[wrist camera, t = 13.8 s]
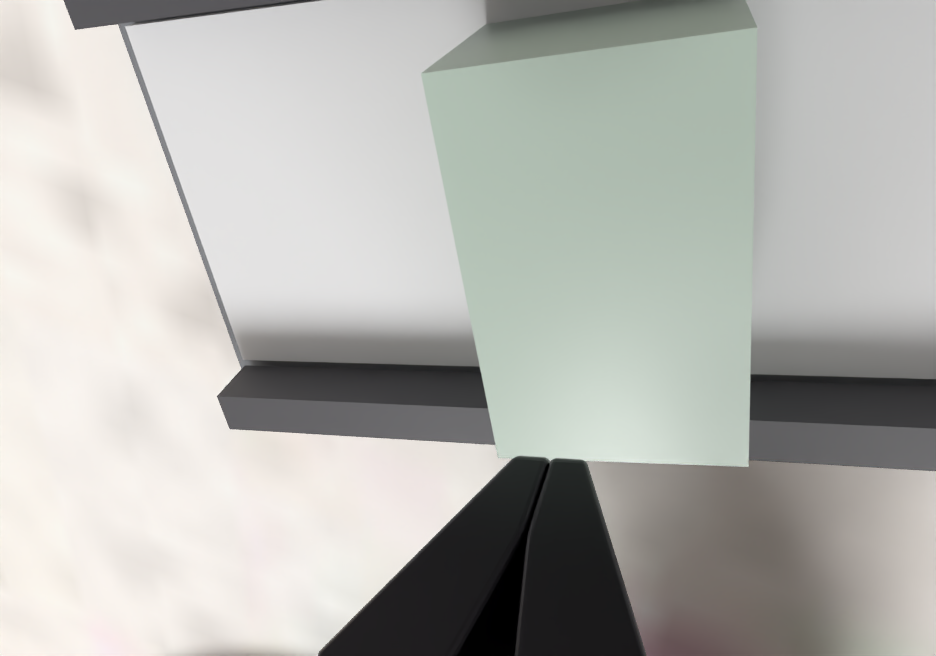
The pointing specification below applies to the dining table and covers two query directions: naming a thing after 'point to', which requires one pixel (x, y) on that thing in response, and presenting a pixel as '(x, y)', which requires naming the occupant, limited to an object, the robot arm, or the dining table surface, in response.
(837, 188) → the rail board
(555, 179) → the block
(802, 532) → the dining table surface
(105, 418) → the dining table surface
